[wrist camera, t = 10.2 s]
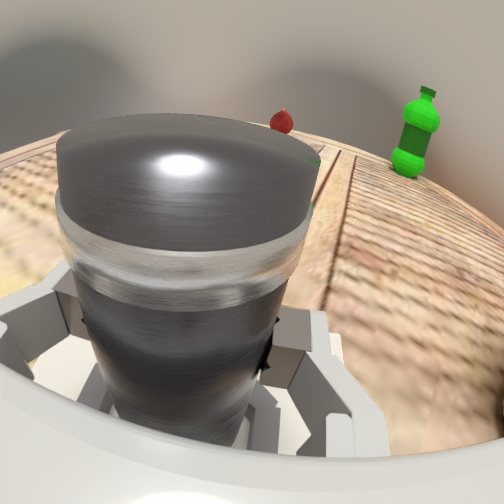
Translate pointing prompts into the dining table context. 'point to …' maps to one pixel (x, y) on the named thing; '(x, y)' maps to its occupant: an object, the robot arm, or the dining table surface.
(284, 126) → the onion
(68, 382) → the mount board
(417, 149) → the plastic bottle
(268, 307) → the lens tube
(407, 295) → the dining table surface
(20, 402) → the robot arm
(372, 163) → the dining table surface
